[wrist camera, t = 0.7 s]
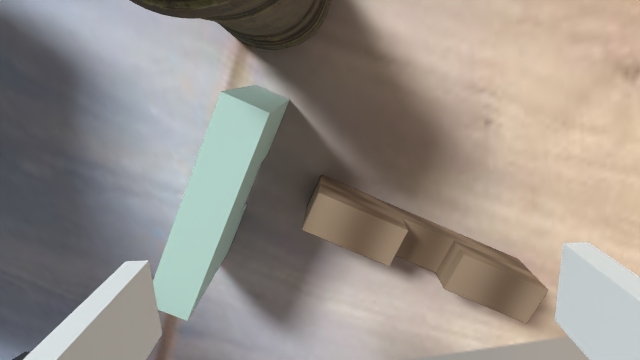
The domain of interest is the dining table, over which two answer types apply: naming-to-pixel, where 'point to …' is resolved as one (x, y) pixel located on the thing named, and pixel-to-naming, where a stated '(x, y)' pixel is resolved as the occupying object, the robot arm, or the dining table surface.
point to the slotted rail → (422, 248)
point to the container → (252, 18)
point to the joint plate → (216, 195)
